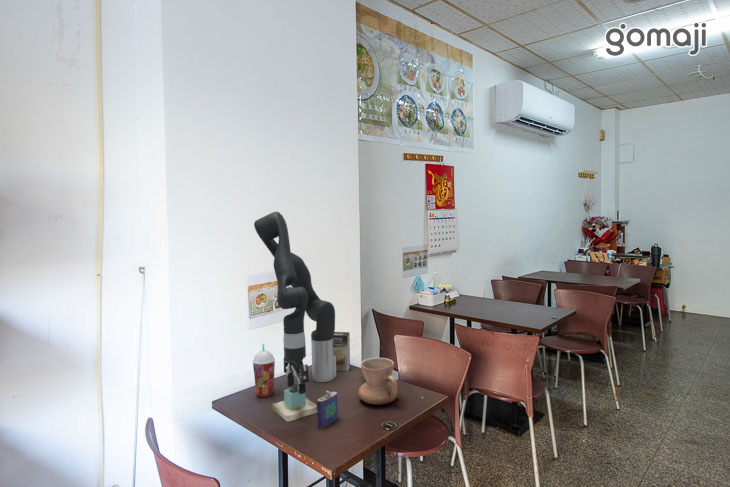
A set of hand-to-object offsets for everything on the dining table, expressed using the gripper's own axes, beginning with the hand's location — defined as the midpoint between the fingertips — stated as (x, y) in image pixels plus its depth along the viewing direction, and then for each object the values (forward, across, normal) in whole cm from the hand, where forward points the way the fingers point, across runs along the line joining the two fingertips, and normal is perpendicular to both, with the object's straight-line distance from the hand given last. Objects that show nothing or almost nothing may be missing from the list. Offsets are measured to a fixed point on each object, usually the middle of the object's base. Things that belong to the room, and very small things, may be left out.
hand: (296, 389), depth 149 cm
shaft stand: (+8, 0, +1) cm, 8 cm away
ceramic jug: (+8, -12, -27) cm, 31 cm away
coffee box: (+8, +25, -34) cm, 44 cm away
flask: (+8, -14, -4) cm, 17 cm away
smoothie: (+8, +20, +3) cm, 22 cm away
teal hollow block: (+5, 0, +1) cm, 5 cm away
